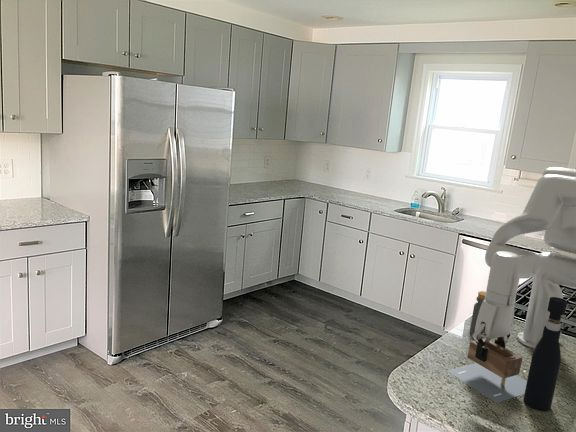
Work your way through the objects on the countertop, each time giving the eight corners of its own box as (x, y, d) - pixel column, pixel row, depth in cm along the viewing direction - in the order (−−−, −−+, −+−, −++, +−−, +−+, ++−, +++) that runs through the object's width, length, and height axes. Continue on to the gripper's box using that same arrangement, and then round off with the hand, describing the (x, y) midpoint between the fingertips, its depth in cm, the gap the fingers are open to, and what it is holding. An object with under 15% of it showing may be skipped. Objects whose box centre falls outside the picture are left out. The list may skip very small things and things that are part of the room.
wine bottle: (553, 417, 125) (577, 306, 119) (526, 412, 126) (548, 302, 120) (545, 403, 131) (568, 297, 125) (519, 399, 132) (540, 293, 126)
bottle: (482, 340, 167) (489, 298, 164) (466, 333, 171) (473, 292, 168) (490, 335, 171) (498, 294, 167) (474, 329, 175) (481, 289, 172)
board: (488, 363, 151) (490, 352, 150) (539, 392, 136) (541, 380, 136) (446, 374, 142) (447, 362, 141) (495, 407, 128) (498, 394, 127)
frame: (482, 353, 144) (486, 337, 143) (519, 374, 134) (522, 356, 133) (467, 357, 141) (470, 340, 140) (503, 378, 131) (506, 360, 130)
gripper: (509, 289, 142) (498, 346, 146) (467, 295, 133) (456, 356, 137) (532, 298, 136) (520, 358, 139) (490, 305, 127) (478, 369, 131)
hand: (489, 356), depth 138 cm, fingers closed on frame, 6 cm apart
